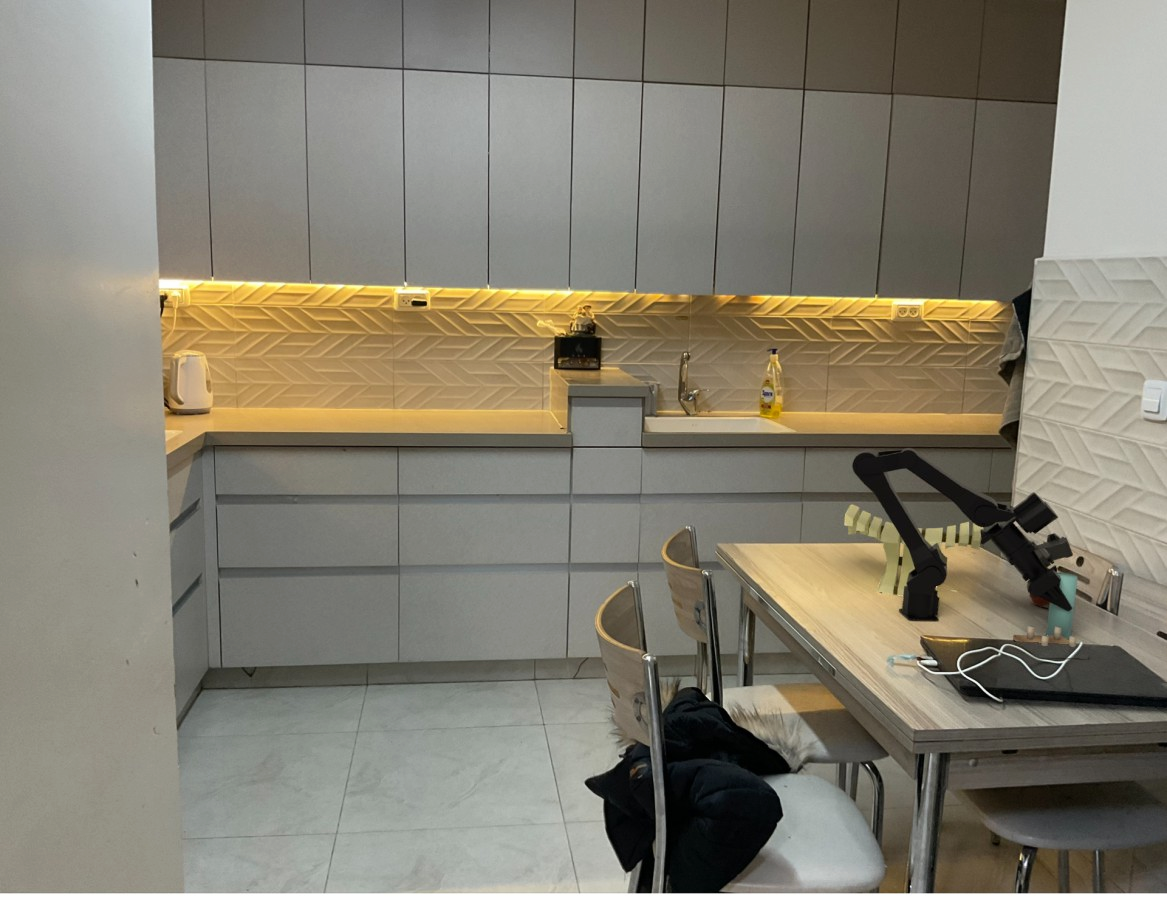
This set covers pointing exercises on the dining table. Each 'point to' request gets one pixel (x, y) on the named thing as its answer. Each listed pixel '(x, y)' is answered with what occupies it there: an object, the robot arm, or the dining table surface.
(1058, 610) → the post
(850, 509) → the slatted curved stool
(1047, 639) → the base
